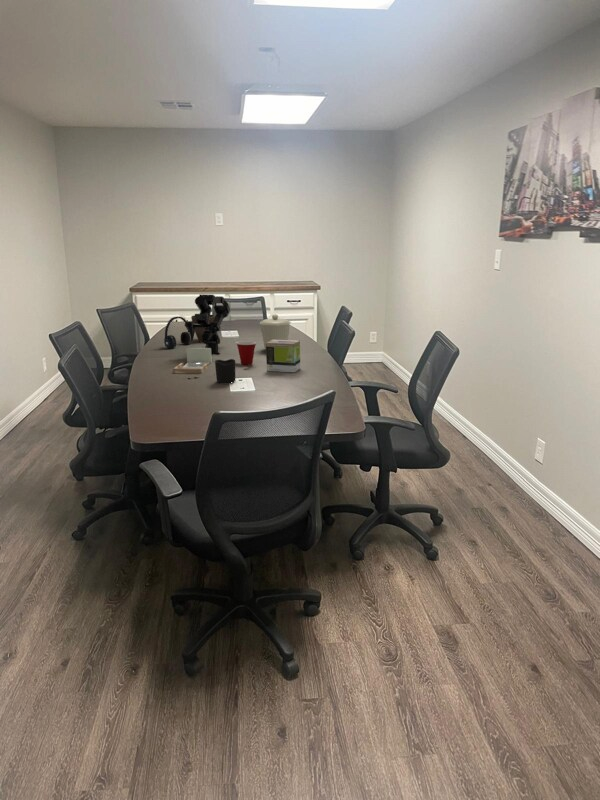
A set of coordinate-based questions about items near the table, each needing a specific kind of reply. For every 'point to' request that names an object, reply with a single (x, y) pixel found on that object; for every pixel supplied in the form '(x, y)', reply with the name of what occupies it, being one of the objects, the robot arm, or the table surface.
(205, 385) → the table surface
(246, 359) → the plastic cup
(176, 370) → the housing
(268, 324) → the canister
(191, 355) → the drawer
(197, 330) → the plant pot
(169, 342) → the headphones
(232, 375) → the pen holder
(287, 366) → the tea box
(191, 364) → the disc
